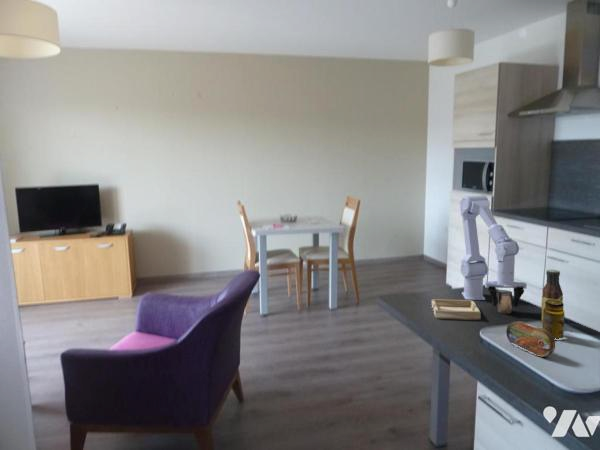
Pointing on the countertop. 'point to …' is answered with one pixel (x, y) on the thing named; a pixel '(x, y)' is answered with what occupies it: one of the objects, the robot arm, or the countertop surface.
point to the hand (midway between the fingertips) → (504, 305)
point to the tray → (455, 309)
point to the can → (504, 301)
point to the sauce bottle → (552, 288)
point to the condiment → (554, 318)
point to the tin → (531, 338)
